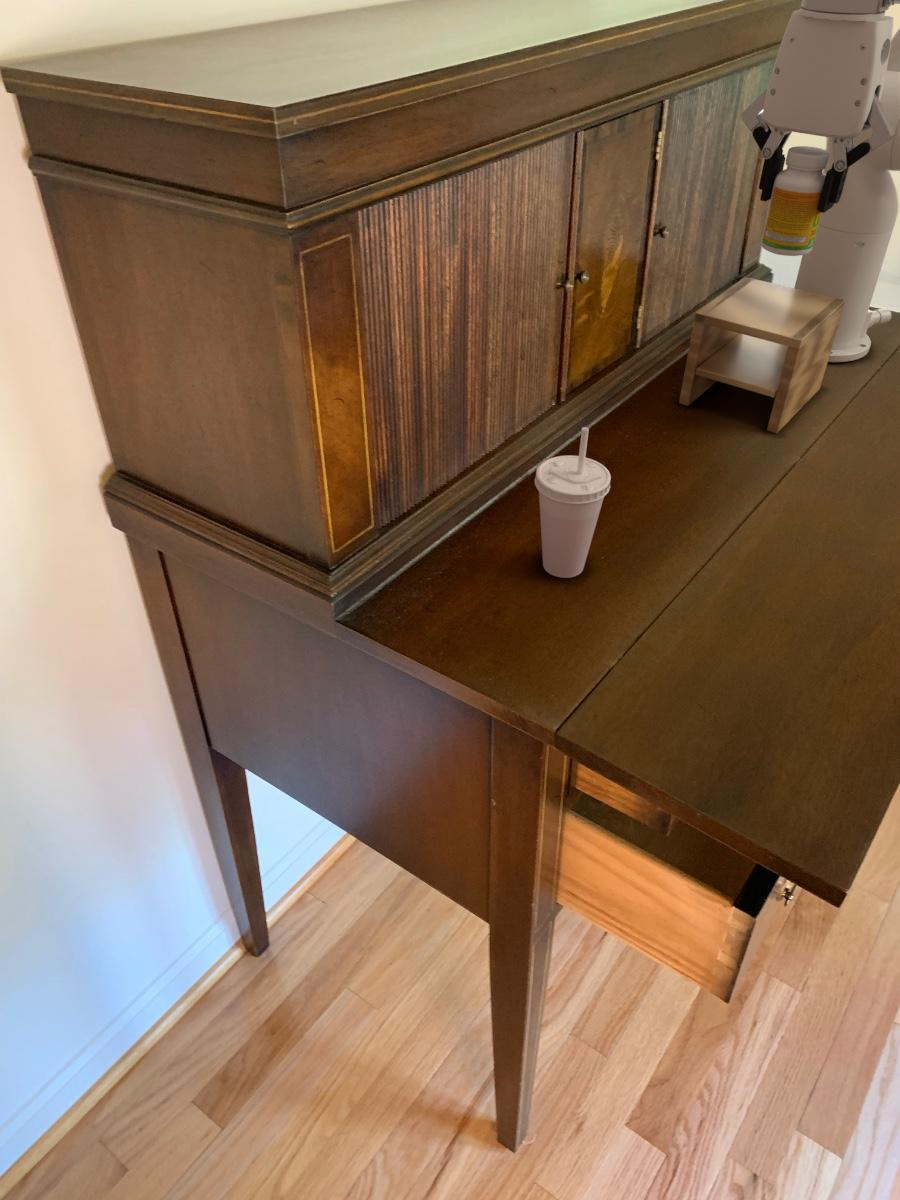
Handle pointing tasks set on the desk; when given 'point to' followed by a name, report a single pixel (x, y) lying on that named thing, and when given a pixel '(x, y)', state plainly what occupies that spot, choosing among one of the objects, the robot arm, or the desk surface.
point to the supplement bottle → (795, 203)
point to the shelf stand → (763, 344)
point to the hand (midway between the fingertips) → (796, 201)
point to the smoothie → (569, 508)
